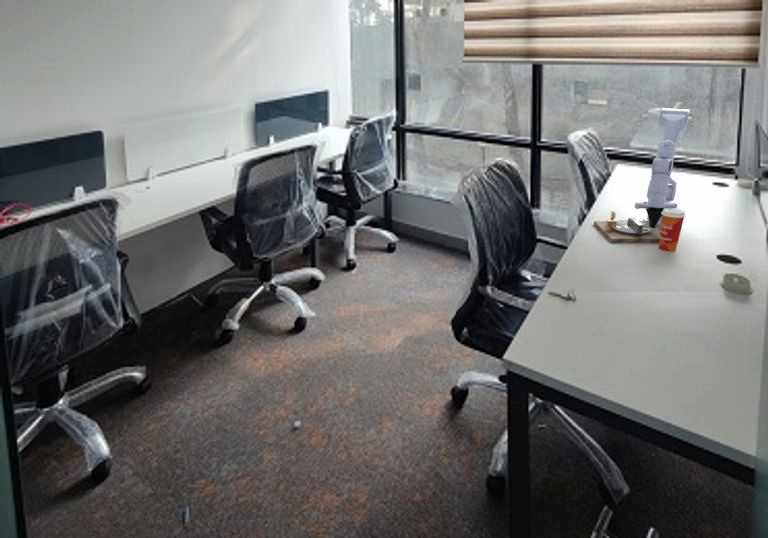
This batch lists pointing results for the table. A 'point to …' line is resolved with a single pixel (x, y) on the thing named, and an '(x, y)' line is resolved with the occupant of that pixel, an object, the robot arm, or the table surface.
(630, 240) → the base board
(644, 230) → the flange plate
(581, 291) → the table surface
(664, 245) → the paper cup
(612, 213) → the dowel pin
